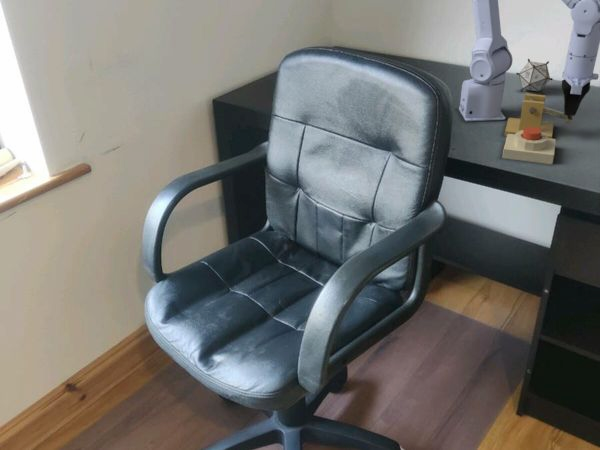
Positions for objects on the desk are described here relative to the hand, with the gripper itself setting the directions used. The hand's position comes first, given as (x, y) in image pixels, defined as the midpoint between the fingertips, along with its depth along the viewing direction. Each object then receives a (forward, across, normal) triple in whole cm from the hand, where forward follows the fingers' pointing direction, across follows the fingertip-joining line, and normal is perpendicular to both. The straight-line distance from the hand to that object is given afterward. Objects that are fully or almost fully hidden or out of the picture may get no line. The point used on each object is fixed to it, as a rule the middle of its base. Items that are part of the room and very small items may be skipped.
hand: (569, 114), depth 136 cm
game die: (+5, +26, +9) cm, 28 cm away
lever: (+1, 0, +5) cm, 5 cm away
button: (+2, -11, +7) cm, 13 cm away
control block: (+5, -11, +7) cm, 14 cm away
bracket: (+5, 0, +8) cm, 9 cm away
